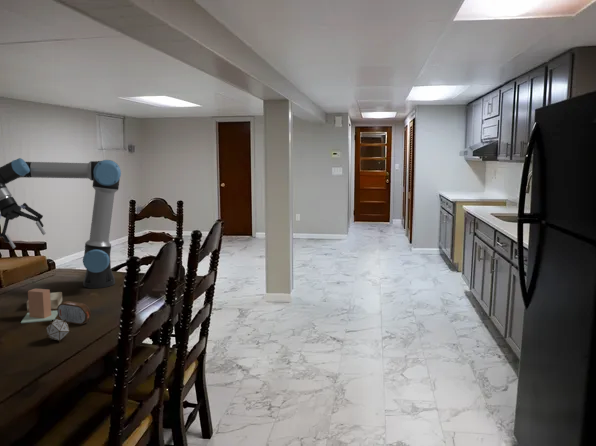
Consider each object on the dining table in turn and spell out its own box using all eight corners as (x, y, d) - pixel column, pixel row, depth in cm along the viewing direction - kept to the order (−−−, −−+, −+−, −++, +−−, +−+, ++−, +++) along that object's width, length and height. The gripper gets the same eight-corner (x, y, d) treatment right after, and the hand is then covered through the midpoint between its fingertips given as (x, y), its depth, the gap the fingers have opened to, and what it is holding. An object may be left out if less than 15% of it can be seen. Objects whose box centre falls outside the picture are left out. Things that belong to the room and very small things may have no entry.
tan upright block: (29, 316, 195) (27, 291, 194) (36, 313, 199) (35, 288, 198) (44, 318, 194) (42, 292, 192) (51, 315, 198) (49, 289, 196)
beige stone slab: (62, 300, 219) (61, 291, 218) (58, 308, 208) (57, 299, 207) (33, 302, 215) (32, 294, 215) (27, 310, 204) (26, 301, 203)
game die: (65, 348, 174) (81, 327, 174) (45, 348, 167) (61, 326, 166) (54, 332, 178) (69, 311, 178) (34, 331, 171) (50, 310, 170)
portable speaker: (92, 323, 190) (91, 303, 188) (86, 326, 187) (85, 306, 185) (62, 319, 194) (61, 299, 193) (56, 321, 192) (55, 301, 190)
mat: (59, 311, 204) (59, 310, 204) (54, 320, 193) (54, 319, 193) (27, 313, 200) (27, 312, 200) (20, 323, 189) (20, 322, 189)
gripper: (30, 191, 223) (54, 230, 225) (-27, 213, 207) (0, 255, 209) (32, 186, 217) (58, 226, 219) (-26, 209, 201) (2, 252, 203)
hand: (29, 240), depth 214 cm, fingers open, 13 cm apart
